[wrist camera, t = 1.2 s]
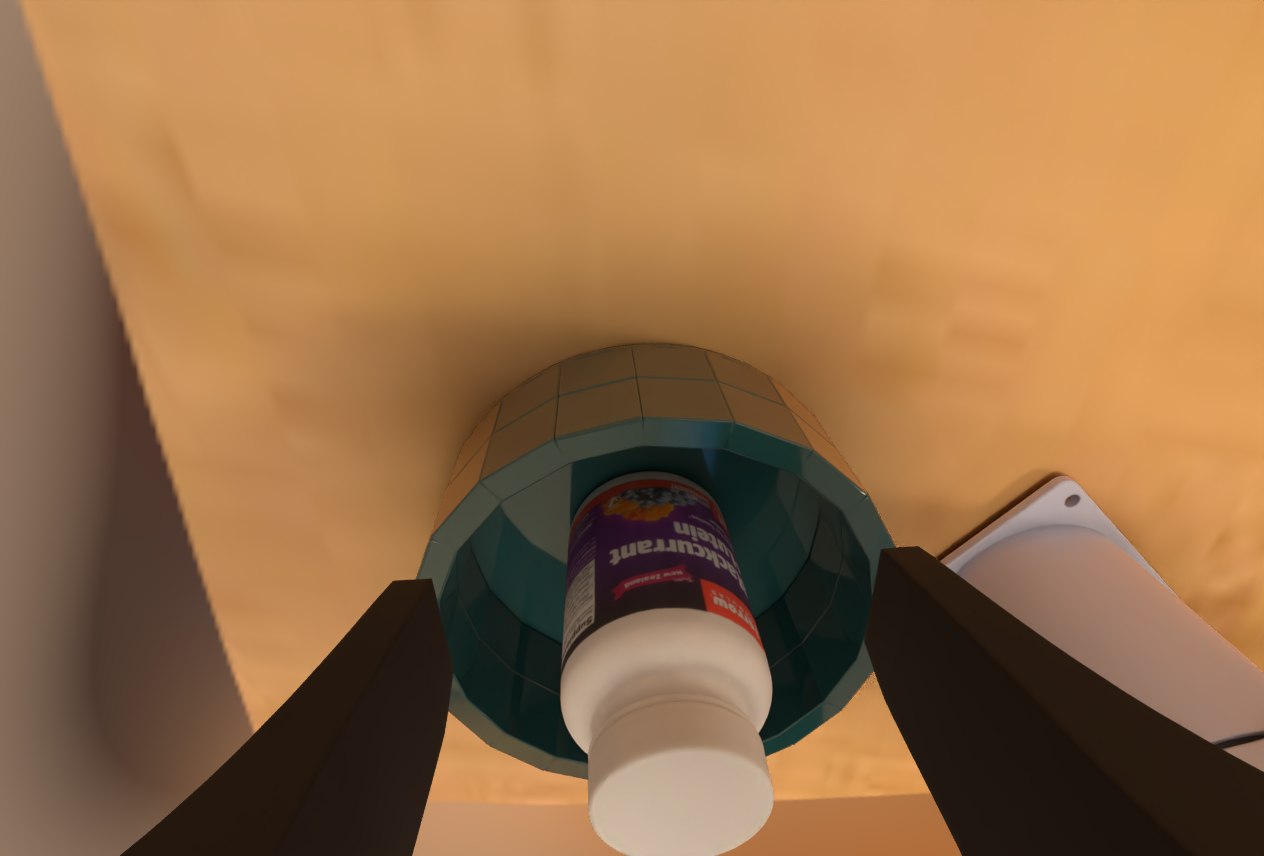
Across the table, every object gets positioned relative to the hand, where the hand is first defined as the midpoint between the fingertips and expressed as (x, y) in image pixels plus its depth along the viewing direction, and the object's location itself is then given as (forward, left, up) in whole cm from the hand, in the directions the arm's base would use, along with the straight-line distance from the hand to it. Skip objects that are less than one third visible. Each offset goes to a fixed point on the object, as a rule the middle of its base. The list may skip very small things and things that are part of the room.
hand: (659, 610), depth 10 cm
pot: (-5, +4, -10) cm, 12 cm away
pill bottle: (-5, +4, -10) cm, 12 cm away
